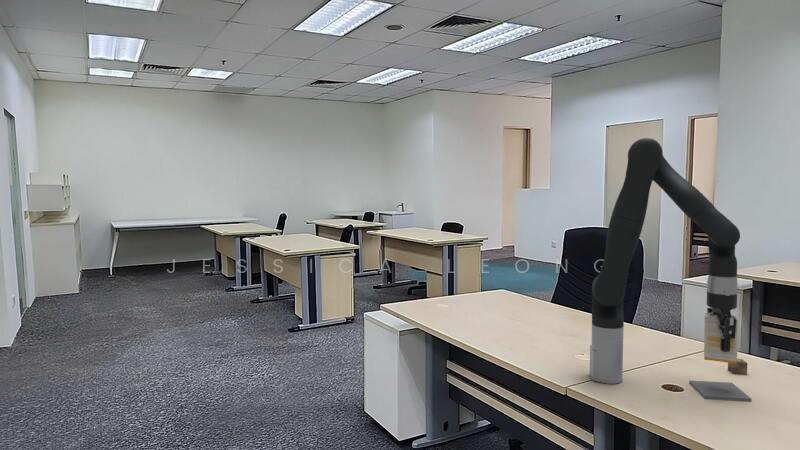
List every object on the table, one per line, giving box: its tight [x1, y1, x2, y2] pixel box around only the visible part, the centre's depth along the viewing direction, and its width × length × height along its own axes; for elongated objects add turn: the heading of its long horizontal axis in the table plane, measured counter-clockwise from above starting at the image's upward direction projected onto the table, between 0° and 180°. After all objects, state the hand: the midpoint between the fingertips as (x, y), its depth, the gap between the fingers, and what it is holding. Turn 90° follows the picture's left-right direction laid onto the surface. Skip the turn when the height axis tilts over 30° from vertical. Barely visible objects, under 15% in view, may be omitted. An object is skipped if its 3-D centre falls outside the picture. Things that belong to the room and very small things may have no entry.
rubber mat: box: [688, 380, 752, 402], centre depth 153 cm, size 12×12×1 cm
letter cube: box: [727, 358, 748, 376], centre depth 168 cm, size 4×4×4 cm
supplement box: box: [703, 312, 739, 364], centre depth 152 cm, size 8×5×13 cm, turn 58°
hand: (720, 347), depth 152 cm, fingers closed on supplement box, 6 cm apart
